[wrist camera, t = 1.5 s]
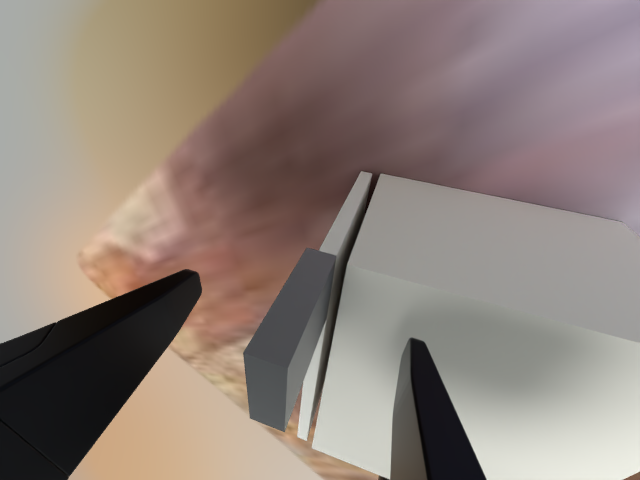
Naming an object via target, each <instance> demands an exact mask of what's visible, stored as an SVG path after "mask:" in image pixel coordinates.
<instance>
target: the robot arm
mask: <svg viewBox="0 0 640 480" xmlns="http://www.w3.org/2000/svg"><path fill="white" fill-rule="evenodd" d="M201 293H202V287H201V282H200V277H199V274H198V273H197V272H196V271H192V270H189V269H185V270H182V271H179V272H177V273H174V274H172V275H170V276H167V277H165V278H162V279H160V280H157V281H155V282H152V283H150V284H148V285H145V286H143V287H140V288H138V289H135V290H133V291H130V292H128V293H126V294H123V295H121V296H118V297H116V298H113V299H111V300H108V301H106V302H104V303H101V304H99V305H96V306H94V307H92V308H89V309H87V310H84V311H82V312H79V313H77V314H74V315H72V316H69V317H67V318H65V319H62V320H60V321H58V322H57V323H52V324H50V325H47V326H45V327H42V328H40V329H38V330H35V331H32V332H30V333H27V334H25V335H22V336H20V337H17V338H14V339H12V340H9V341H6V342H4V343H1V344H0V480H68V478H69V476H70V475H71V474H72V472H73V471H74V470H75V469H76V467H77V466H78V465H79V463H80V462H81V461H82V459H83V458H84V457H85V455H86V454H87V453H88V452H89V450H90V449H91V448H92V446H93V445H94V444H95V442H96V441H97V439H98V438H99V437H100V436H101V434H102V433H103V431H104V430H105V429H106V428H107V426H108V425H109V424H110V422H111V421H112V420H113V418H114V417H115V416H116V414H117V413H118V412H119V410H120V409H121V408H122V406H123V405H124V404H125V403H126V401H127V400H128V399H129V397H130V396H131V395H132V393H133V392H134V391H135V389H136V388H137V387H138V385H139V384H140V383H141V381H142V380H143V379H144V377H145V376H146V375H147V374H148V372H149V371H150V370H151V368H152V367H153V365H154V364H155V363H156V362H157V360H158V359H159V357H160V356H161V355H162V354H163V352H164V351H165V350H166V348H167V347H168V346H169V344H170V343H171V342H172V340H173V339H174V338H175V336H176V335H177V333H178V332H179V330H180V329H181V327H182V325H183V324H184V322H185V321H186V319H187V317H188V316H189V314H190V312H191V311H192V309H193V307H194V306H195V304H196V303H197V301H198V299H199V298H200V296H201ZM378 480H487V479H486V477H485V474H484V472H483V470H482V468H481V465H480V463H479V461H478V459H477V457H476V454H475V452H474V450H473V448H472V445H471V443H470V441H469V439H468V436H467V434H466V432H465V430H464V428H463V425H462V423H461V421H460V419H459V416H458V414H457V412H456V410H455V408H454V405H453V403H452V401H451V399H450V396H449V394H448V392H447V390H446V387H445V385H444V383H443V381H442V379H441V376H440V374H439V372H438V370H437V367H436V365H435V363H434V361H433V359H432V356H431V354H430V352H429V350H428V347H427V345H426V343H425V342H424V341H422V340H419V339H416V338H413V337H411V338H409V340H408V342H407V344H406V346H405V349H404V351H403V353H402V357H401V361H400V368H399V374H398V381H397V387H396V394H395V400H394V408H393V418H392V443H391V471H390V479H387V478H385V477H382V476H380V475H379V478H378Z"/></svg>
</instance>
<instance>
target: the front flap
mask: <svg viewBox="0 0 640 480" xmlns="http://www.w3.org/2000/svg"><path fill="white" fill-rule="evenodd" d="M371 178H372V173H368V172H363V171H361V172H360V174H359V176H358V178H357V180H356V182H355V184H354V186H353V187H352V189H351V191H350V193H349V195H348V197H347V199H346V201H345V202H344V204H343V206H342V208H341V210H340V212H339V214H338V216H337V217H336V219H335V221H334V223H333V225H332V227H331V229H330V230H329V232H328V234H327V236H326V238H325V240H324V242H323V244H322V245H321V247H320V249H319V251H318V250H314V249H310V248H306V250H305V251H304V253H303V255H302V256H301V258H300V260H299V261H298V263H297V265H296V266H295V268H294V270H293V271H292V273H291V275H290V276H289V278H288V280H287V281H286V283H285V285H284V286H283V288H282V290H281V291H280V293H279V295H278V296H277V298H276V300H275V301H274V303H273V304H272V306H271V308H270V309H269V311H268V313H267V314H266V316H265V318H264V319H263V321H262V323H261V324H260V326H259V328H258V329H257V331H256V333H255V334H254V336H253V338H252V339H251V341H250V343H249V344H248V346H247V348H246V349H245V351H244V353H243V355H244V364H245V374H246V384H247V393H248V403H249V413H250V418H251V419H253V420H256V421H258V422H261V423H263V424H266V425H268V426H271V427H273V428H276V429H278V430H281V431H283V432H285V430H286V427H287V424H288V421H289V419H290V416H291V413H292V411H293V408H294V405H295V403H296V400H297V397H298V394H299V392H300V389H301V386H302V384H303V390H302V399H301V408H300V417H299V426H298V435H297V437H298V438H301V439H303V440H306V441H307V438H308V435H309V432H310V428H311V425H312V422H313V419H314V415H315V412H316V409H317V406H318V402H319V399H320V396H321V392H322V389H323V386H324V382H325V377H326V372H327V366H328V361H329V356H330V351H331V346H332V340H333V335H334V330H335V325H336V320H337V315H338V309H339V304H340V299H341V294H342V289H343V283H344V278H345V273H346V268H347V264H348V261H349V258H350V255H351V253H352V250H353V247H354V245H355V242H356V239H357V236H358V234H359V231H360V228H361V226H362V221H363V216H364V212H365V207H366V202H367V197H368V192H369V188H370V183H371ZM303 381H304V382H303Z"/></svg>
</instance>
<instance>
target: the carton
mask: <svg viewBox="0 0 640 480" xmlns="http://www.w3.org/2000/svg"><path fill="white" fill-rule="evenodd" d="M411 337H413V338H416V339H419V340H422V341H424V342H425V343H426V345H427V347H428V350H429V352H430V354H431V356H432V359H433V361H434V363H435V365H436V367H437V370H438V372H439V374H440V376H441V379H442V381H443V383H444V385H445V387H446V390H447V392H448V394H449V396H450V399H451V401H452V403H453V405H454V408H455V410H456V412H457V414H458V416H459V419H460V421H461V423H462V425H463V428H464V430H465V432H466V434H467V436H468V439H469V441H470V443H471V445H472V448H473V450H474V452H475V454H476V457H477V459H478V461H479V463H480V465H481V468H482V470H483V472H484V474H485V477H486V479H487V480H623V479H625V478H627V477H629V476H631V475H633V474H635V473H638V472H640V237H639V236H638V235H637V234H636V233H634V232H633V231H632V230H631V229H630V228H629V227H628V226H627V225H625V224H624V223H623V222H620V221H615V220H610V219H605V218H600V217H595V216H590V215H585V214H580V213H575V212H570V211H565V210H560V209H555V208H550V207H545V206H541V205H536V204H531V203H526V202H521V201H516V200H511V199H506V198H501V197H496V196H491V195H486V194H481V193H476V192H471V191H466V190H461V189H456V188H451V187H446V186H441V185H436V184H431V183H426V182H421V181H416V180H411V179H406V178H401V177H396V176H391V175H386V174H380V177H379V179H378V182H377V185H376V188H375V190H374V193H373V196H372V198H371V201H370V204H369V207H368V209H367V212H366V215H365V217H364V220H363V223H362V226H361V228H360V231H359V234H358V236H357V239H356V242H355V245H354V247H353V250H352V253H351V255H350V258H349V261H348V264H347V268H346V273H345V278H344V283H343V289H342V294H341V299H340V304H339V309H338V315H337V320H336V325H335V330H334V335H333V340H332V346H331V351H330V356H329V361H328V366H327V372H326V377H325V382H324V387H323V392H322V398H321V403H320V408H319V413H318V418H317V423H316V429H315V434H314V439H313V444H312V448H313V449H315V450H318V451H320V452H323V453H325V454H328V455H330V456H333V457H335V458H338V459H340V460H342V461H345V462H347V463H350V464H352V465H355V466H357V467H360V468H362V469H365V470H367V471H370V472H372V473H375V474H377V475H380V476H382V477H385V478H387V479H390V471H391V443H392V418H393V408H394V400H395V394H396V387H397V381H398V374H399V368H400V361H401V357H402V353H403V351H404V349H405V346H406V344H407V342H408V340H409V338H411Z"/></svg>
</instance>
